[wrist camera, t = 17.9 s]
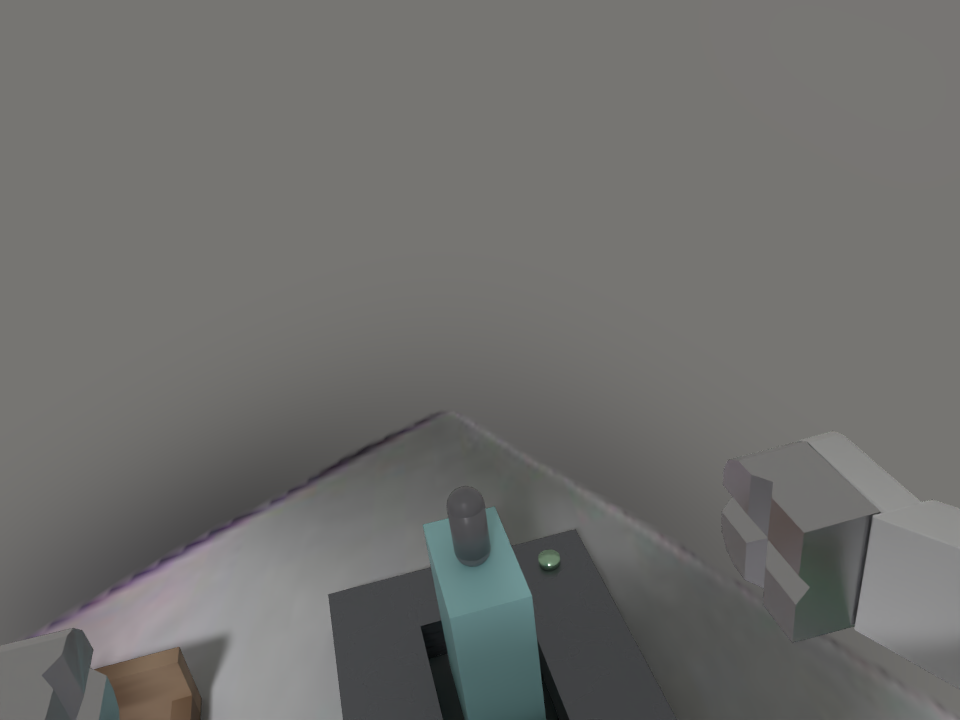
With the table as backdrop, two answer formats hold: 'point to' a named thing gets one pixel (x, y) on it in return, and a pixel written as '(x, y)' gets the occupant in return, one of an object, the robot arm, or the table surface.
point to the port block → (559, 628)
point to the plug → (485, 612)
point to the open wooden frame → (155, 687)
